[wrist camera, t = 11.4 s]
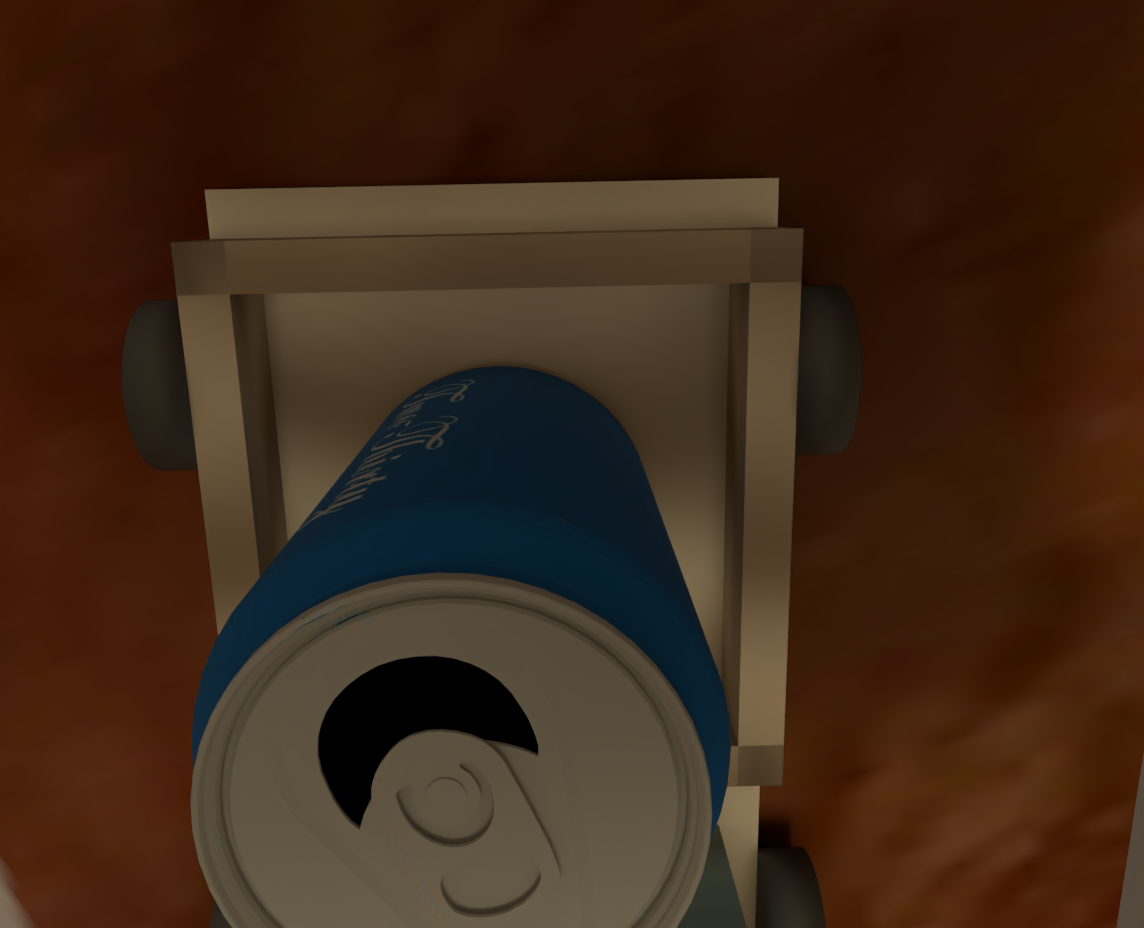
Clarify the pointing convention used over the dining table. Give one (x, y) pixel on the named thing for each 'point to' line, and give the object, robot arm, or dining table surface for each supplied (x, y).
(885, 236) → the dining table surface
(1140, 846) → the robot arm
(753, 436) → the toy truck
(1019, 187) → the dining table surface
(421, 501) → the beverage can
